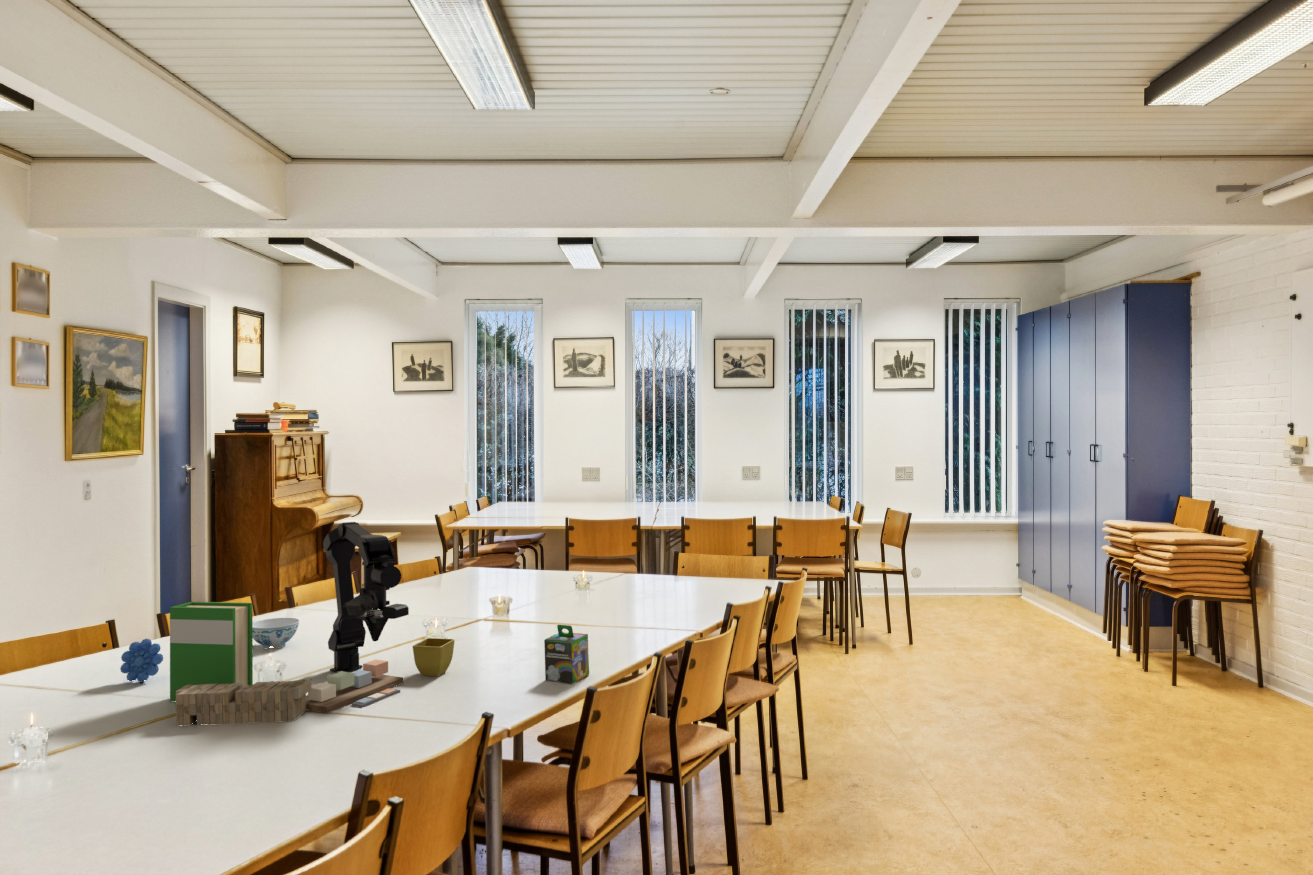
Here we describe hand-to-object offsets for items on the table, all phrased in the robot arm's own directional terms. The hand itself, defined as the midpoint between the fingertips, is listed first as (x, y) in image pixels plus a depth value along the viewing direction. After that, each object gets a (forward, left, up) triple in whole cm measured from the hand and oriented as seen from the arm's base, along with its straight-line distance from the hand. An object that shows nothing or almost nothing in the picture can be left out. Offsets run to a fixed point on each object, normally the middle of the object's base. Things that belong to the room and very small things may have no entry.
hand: (375, 640), depth 208 cm
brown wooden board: (0, -9, -12) cm, 15 cm away
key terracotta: (0, 0, -9) cm, 9 cm away
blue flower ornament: (-63, -22, -12) cm, 68 cm away
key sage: (0, -12, -9) cm, 15 cm away
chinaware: (-62, +19, -12) cm, 66 cm away
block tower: (-10, -32, -12) cm, 36 cm away
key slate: (0, -6, -10) cm, 12 cm away
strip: (+9, -9, -12) cm, 17 cm away
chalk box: (+45, +25, -12) cm, 53 cm away
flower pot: (+8, +14, -12) cm, 20 cm away
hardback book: (-31, -25, -12) cm, 42 cm away
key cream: (0, -18, -10) cm, 21 cm away
